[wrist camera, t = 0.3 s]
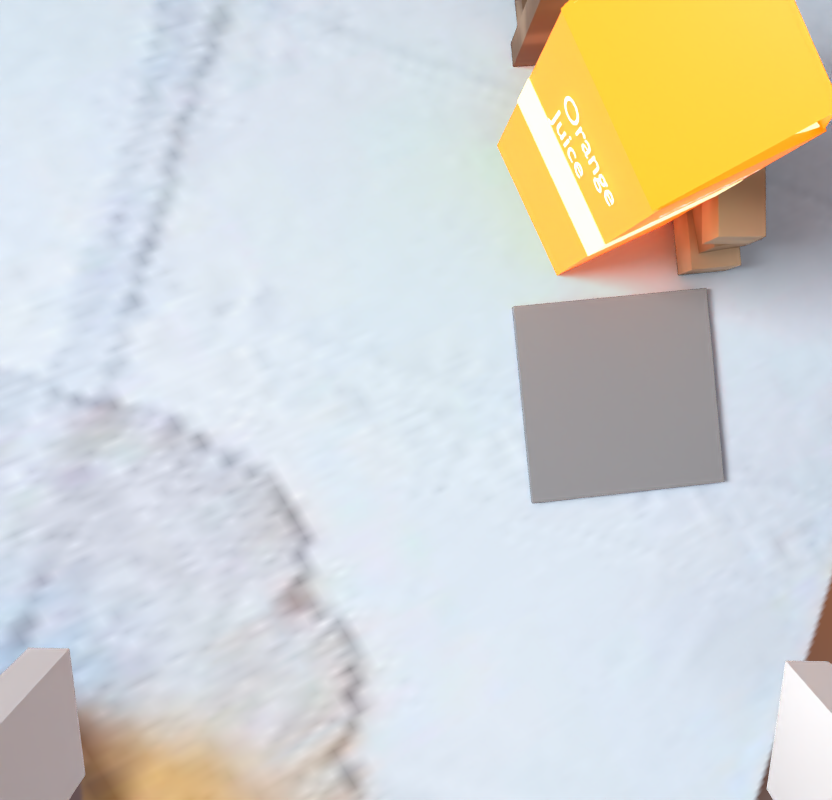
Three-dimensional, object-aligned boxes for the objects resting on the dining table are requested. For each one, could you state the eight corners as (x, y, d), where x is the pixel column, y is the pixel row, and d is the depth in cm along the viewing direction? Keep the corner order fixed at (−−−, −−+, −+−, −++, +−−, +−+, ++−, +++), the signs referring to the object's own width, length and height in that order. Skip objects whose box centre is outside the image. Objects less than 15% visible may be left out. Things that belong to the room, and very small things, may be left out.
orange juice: (608, 93, 40) (838, -206, 20) (667, 224, 40) (952, 61, 20) (493, 145, 39) (609, -104, 19) (554, 278, 40) (730, 166, 20)
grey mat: (512, 307, 40) (513, 306, 39) (703, 289, 40) (706, 287, 40) (531, 502, 40) (533, 503, 39) (720, 480, 40) (724, 481, 40)
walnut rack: (504, -17, 39) (699, -654, 15) (702, -31, 40) (1186, -663, 16) (534, 288, 40) (769, 135, 16) (729, 270, 40) (1241, 95, 16)
